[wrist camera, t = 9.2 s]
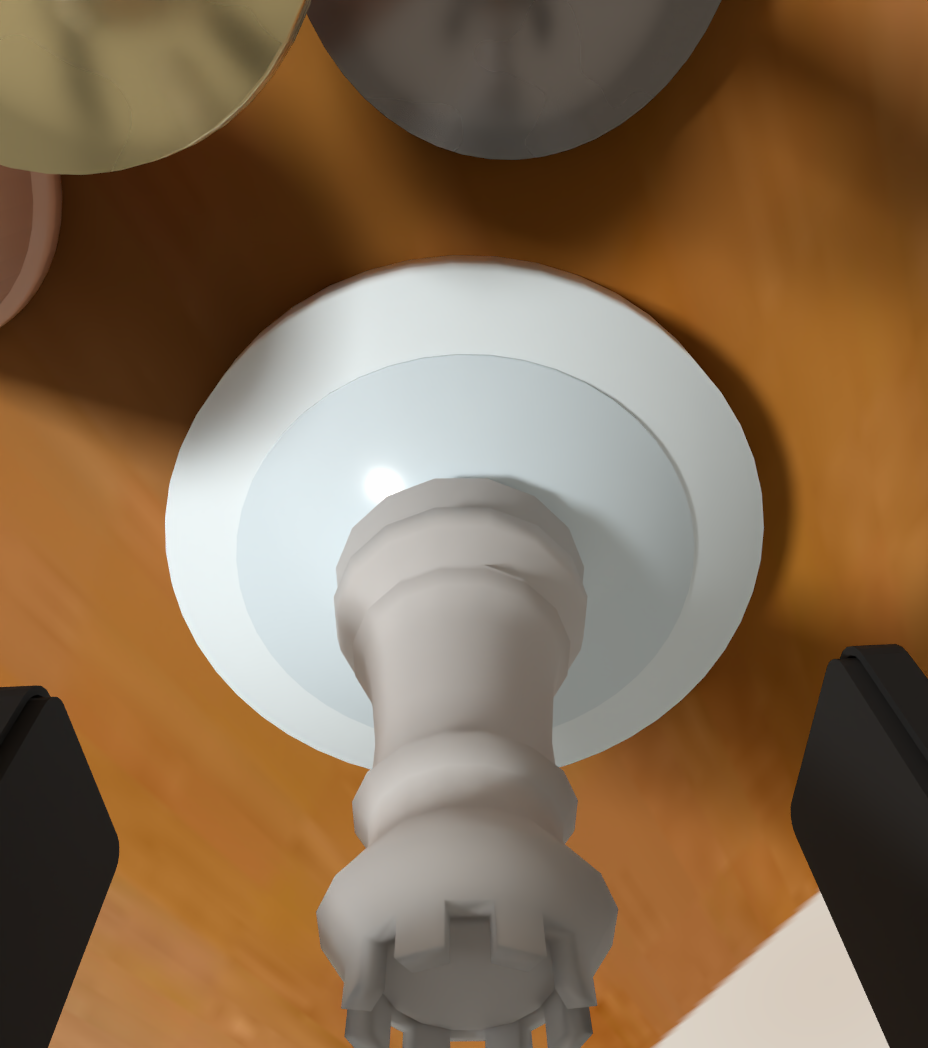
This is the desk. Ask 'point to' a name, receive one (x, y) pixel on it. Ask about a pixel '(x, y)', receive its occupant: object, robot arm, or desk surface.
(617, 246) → the desk surface
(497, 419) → the dish
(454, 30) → the balance
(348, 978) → the rook chess piece
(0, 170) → the peach dome knob
